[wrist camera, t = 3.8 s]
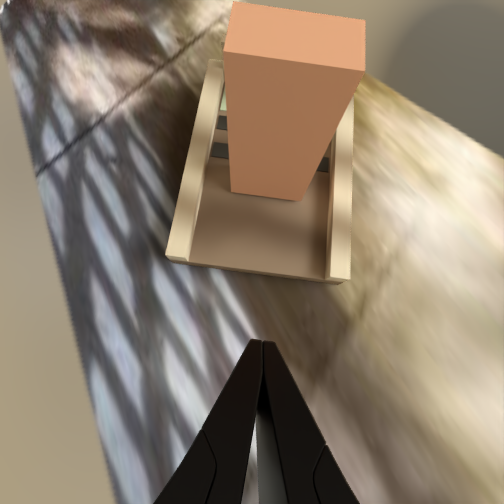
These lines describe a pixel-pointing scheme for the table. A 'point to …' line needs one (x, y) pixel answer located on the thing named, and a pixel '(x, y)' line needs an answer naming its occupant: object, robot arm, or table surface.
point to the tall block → (286, 93)
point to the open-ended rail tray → (261, 205)
